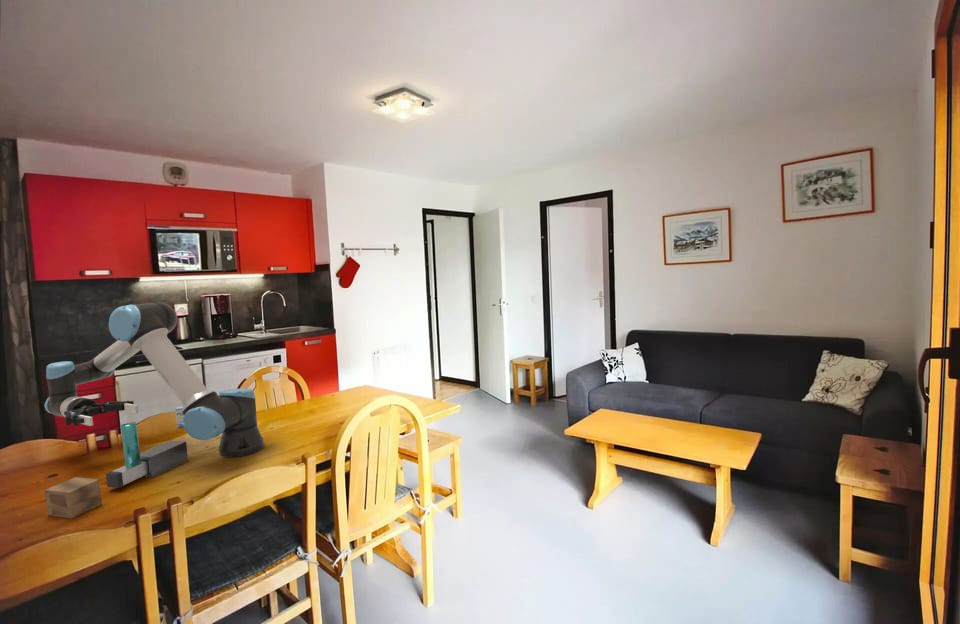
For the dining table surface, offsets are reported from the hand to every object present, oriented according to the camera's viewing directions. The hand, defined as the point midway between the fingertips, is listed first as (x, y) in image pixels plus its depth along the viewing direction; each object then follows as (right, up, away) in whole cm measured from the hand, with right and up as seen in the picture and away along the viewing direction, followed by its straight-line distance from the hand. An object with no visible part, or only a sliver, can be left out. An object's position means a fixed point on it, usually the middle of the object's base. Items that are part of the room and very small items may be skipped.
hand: (115, 415), depth 157 cm
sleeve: (+12, -19, +5) cm, 24 cm away
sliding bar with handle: (+11, -19, -1) cm, 22 cm away
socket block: (+6, -22, -22) cm, 32 cm away
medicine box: (-6, -16, +50) cm, 52 cm away
